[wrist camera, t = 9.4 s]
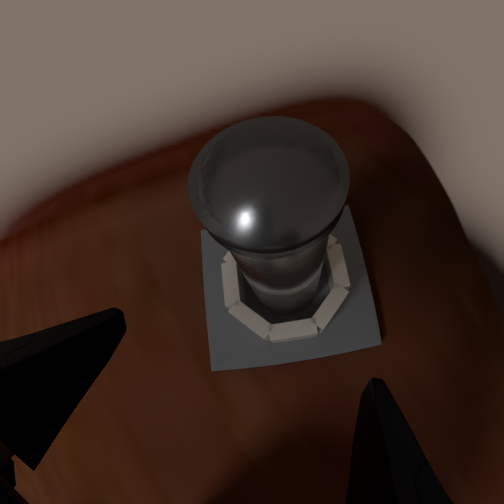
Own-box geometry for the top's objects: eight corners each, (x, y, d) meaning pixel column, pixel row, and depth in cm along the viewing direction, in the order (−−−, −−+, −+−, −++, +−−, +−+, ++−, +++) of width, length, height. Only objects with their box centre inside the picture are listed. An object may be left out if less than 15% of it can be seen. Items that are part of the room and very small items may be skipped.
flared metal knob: (281, 334, 19) (254, 284, 7) (237, 281, 21) (162, 173, 9) (335, 287, 20) (382, 175, 8) (289, 239, 22) (274, 99, 10)
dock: (378, 344, 19) (392, 341, 16) (214, 370, 20) (200, 372, 17) (347, 209, 23) (352, 188, 20) (203, 234, 24) (190, 216, 21)
